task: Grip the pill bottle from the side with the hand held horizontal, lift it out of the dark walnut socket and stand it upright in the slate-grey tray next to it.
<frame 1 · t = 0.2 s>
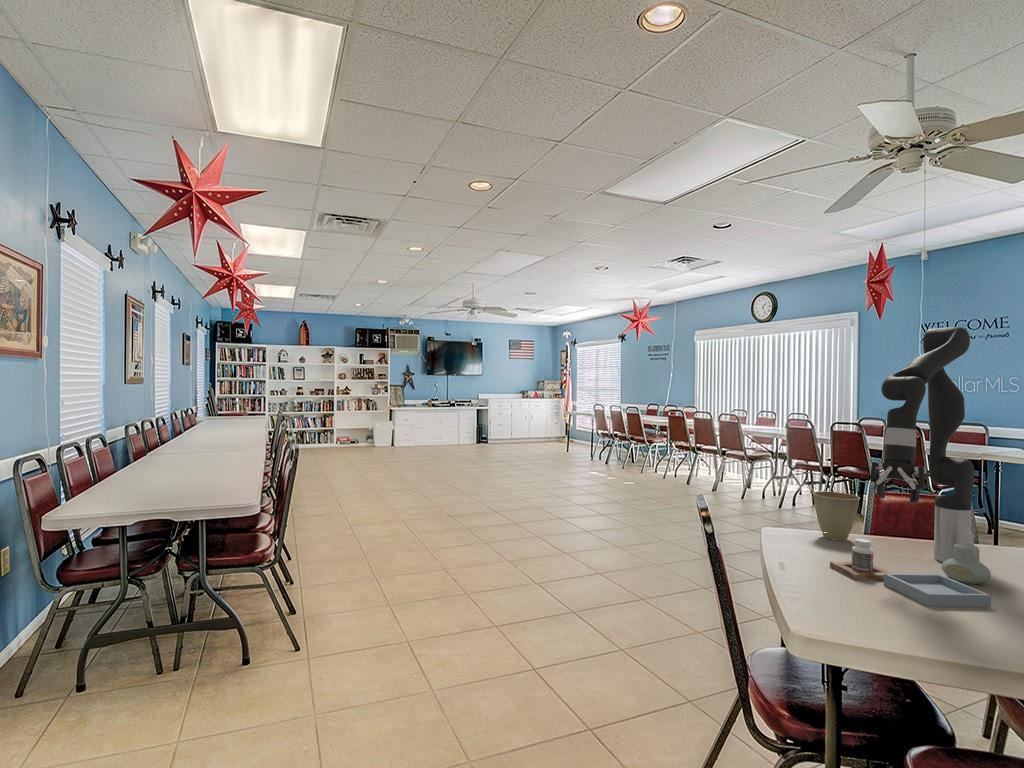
hand: (896, 500, 160), 22 cm above the table, tool pointing down, fingers open, 8 cm apart
air freshener: (965, 581, 159), on the table
walnut socket: (862, 573, 164), on the table
slate tray: (934, 595, 147), on the table
pill bottle: (862, 574, 164), resting in walnut socket
plant pot: (835, 539, 204), on the table
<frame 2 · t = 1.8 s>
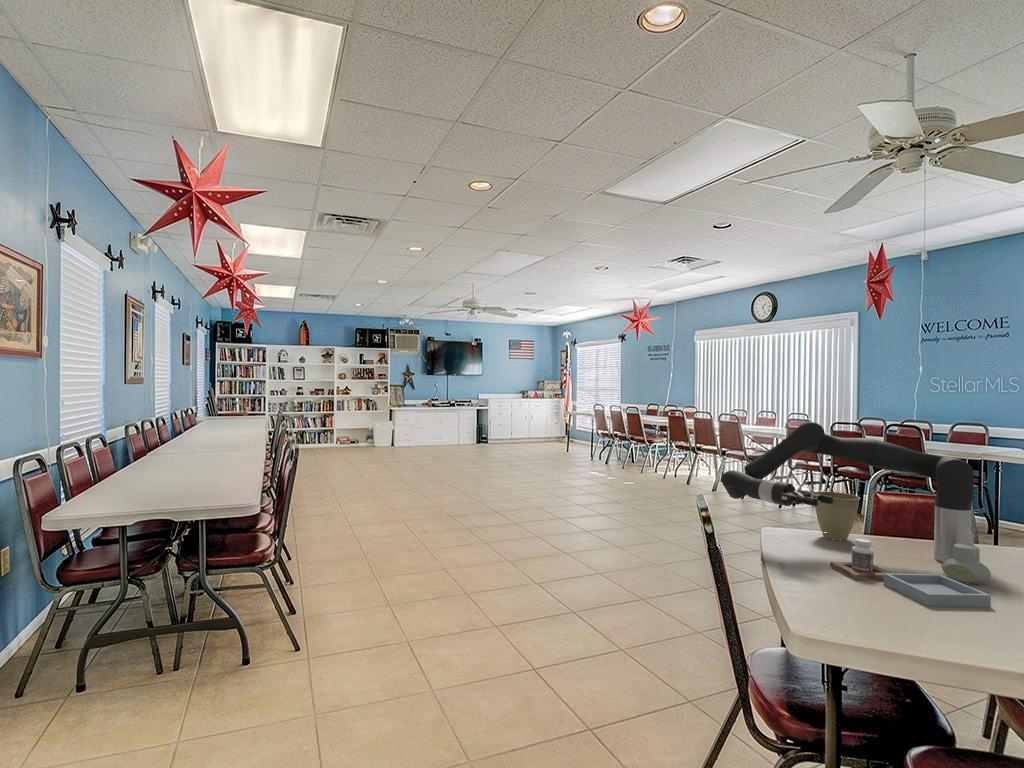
hand: (825, 501, 173), 19 cm above the table, tool horizontal, fingers open, 8 cm apart
nothing on the table moved.
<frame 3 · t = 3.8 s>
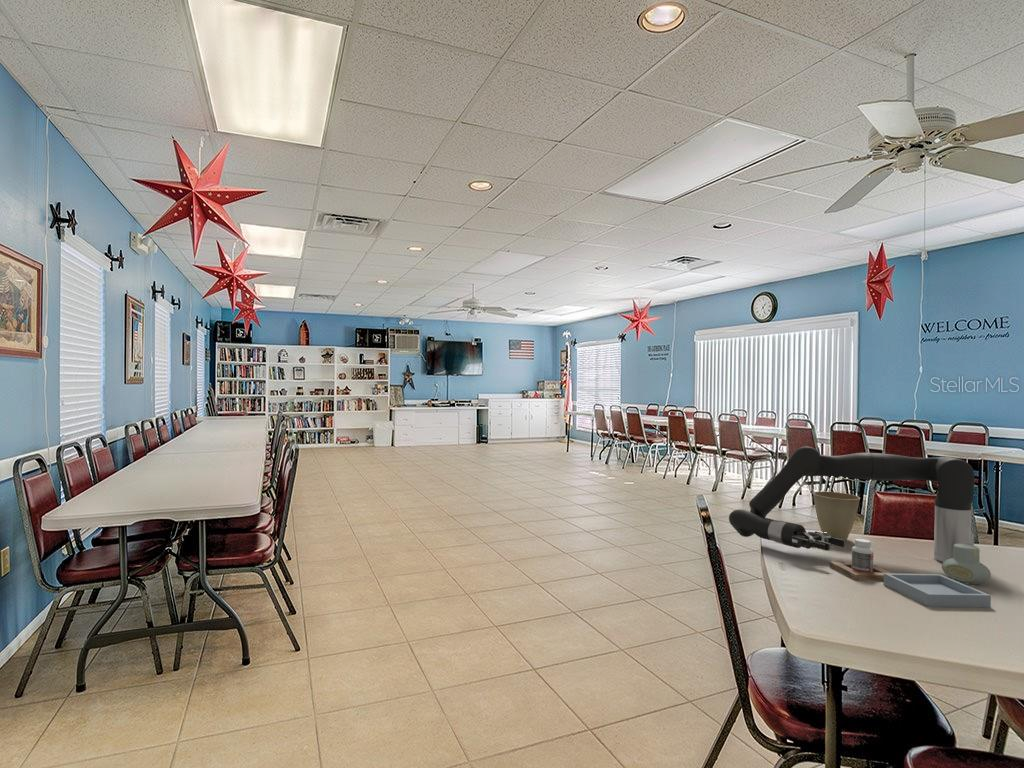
hand: (836, 545, 170), 6 cm above the table, tool horizontal, fingers open, 8 cm apart
nothing on the table moved.
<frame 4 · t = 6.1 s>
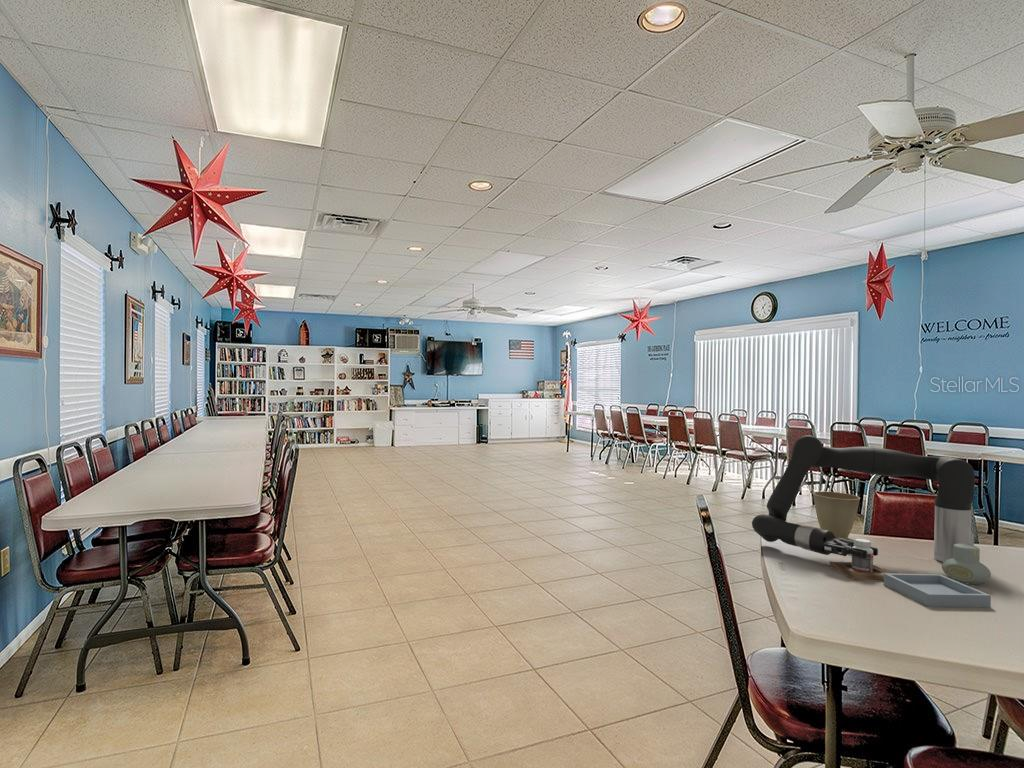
hand: (871, 553, 161), 7 cm above the table, tool horizontal, fingers closed on pill bottle, 5 cm apart
pill bottle: (862, 574, 164), resting in walnut socket, touching gripper
everything else where it was.
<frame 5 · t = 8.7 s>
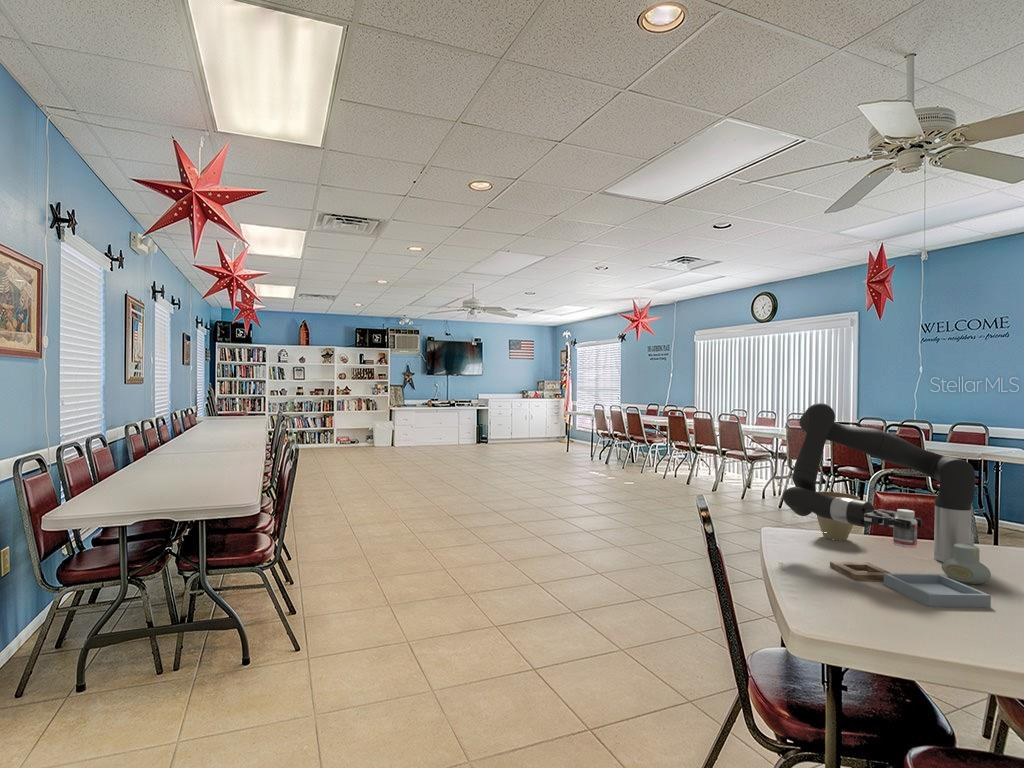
hand: (916, 524, 151), 18 cm above the table, tool horizontal, fingers closed on pill bottle, 5 cm apart
pill bottle: (904, 546, 153), point 11 cm above the table, touching gripper
everything else where it was.
when the fingers open (9 cm above the table, at t = 11.4 s): pill bottle drops 1 cm, resting on slate tray.
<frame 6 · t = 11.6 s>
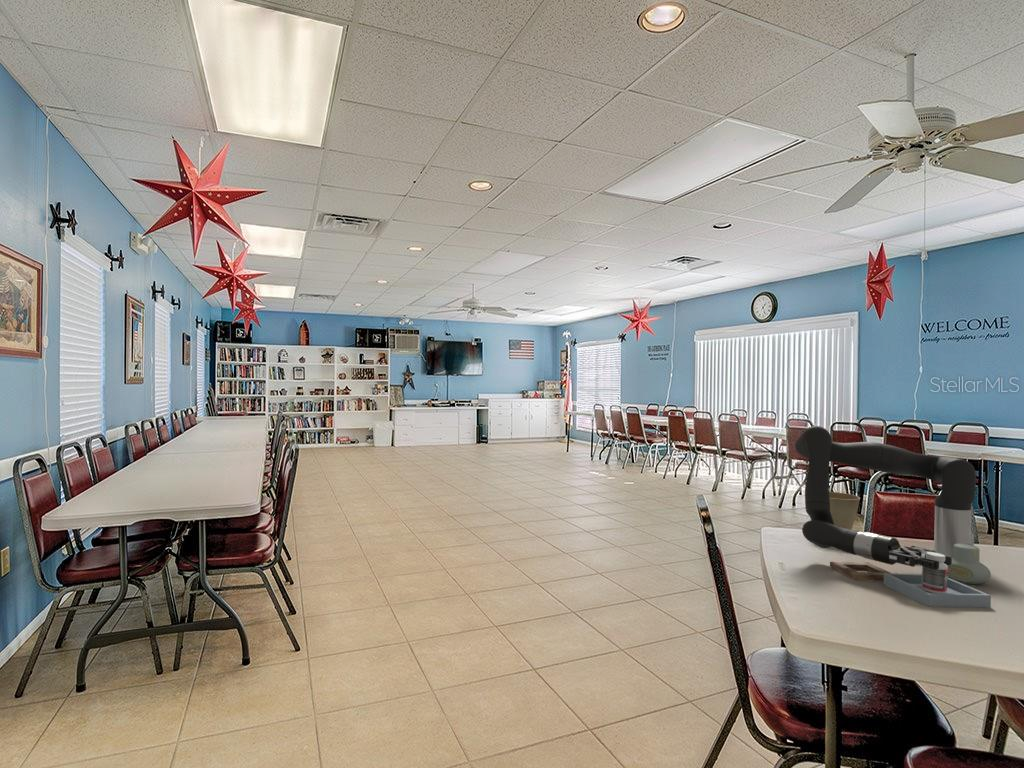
hand: (944, 563, 145), 9 cm above the table, tool horizontal, fingers open, 7 cm apart
pill bottle: (933, 591, 147), point 1 cm above the table, touching slate tray
everything else where it was.
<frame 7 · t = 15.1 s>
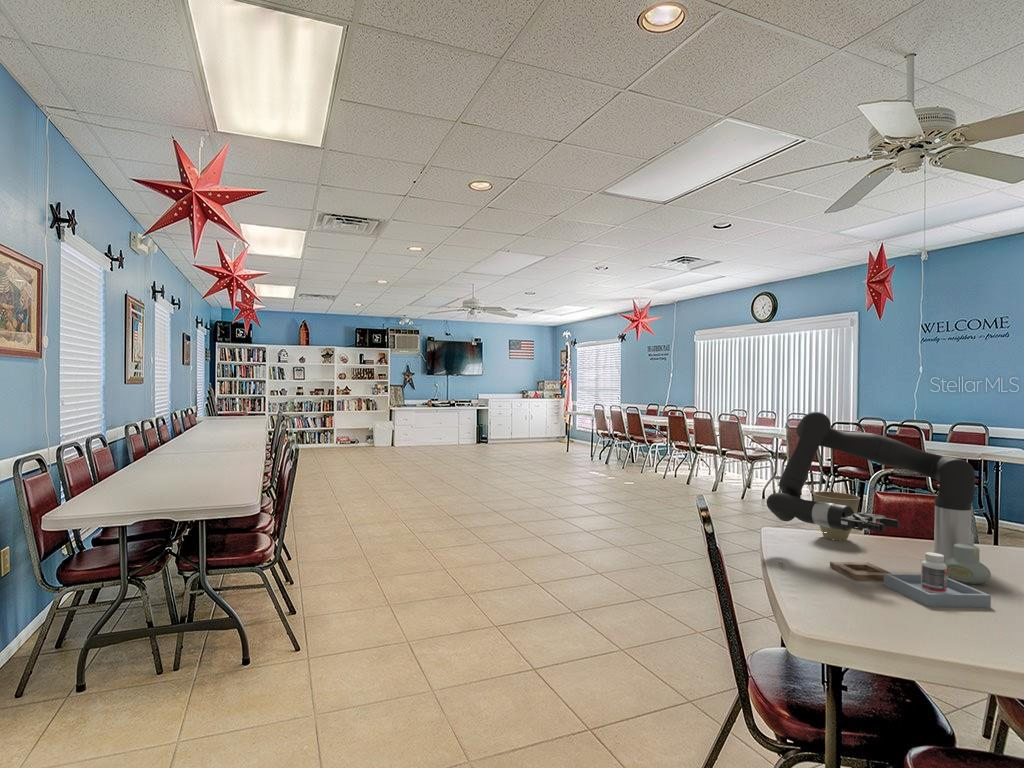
hand: (891, 526, 156), 16 cm above the table, tool horizontal, fingers open, 8 cm apart
nothing on the table moved.
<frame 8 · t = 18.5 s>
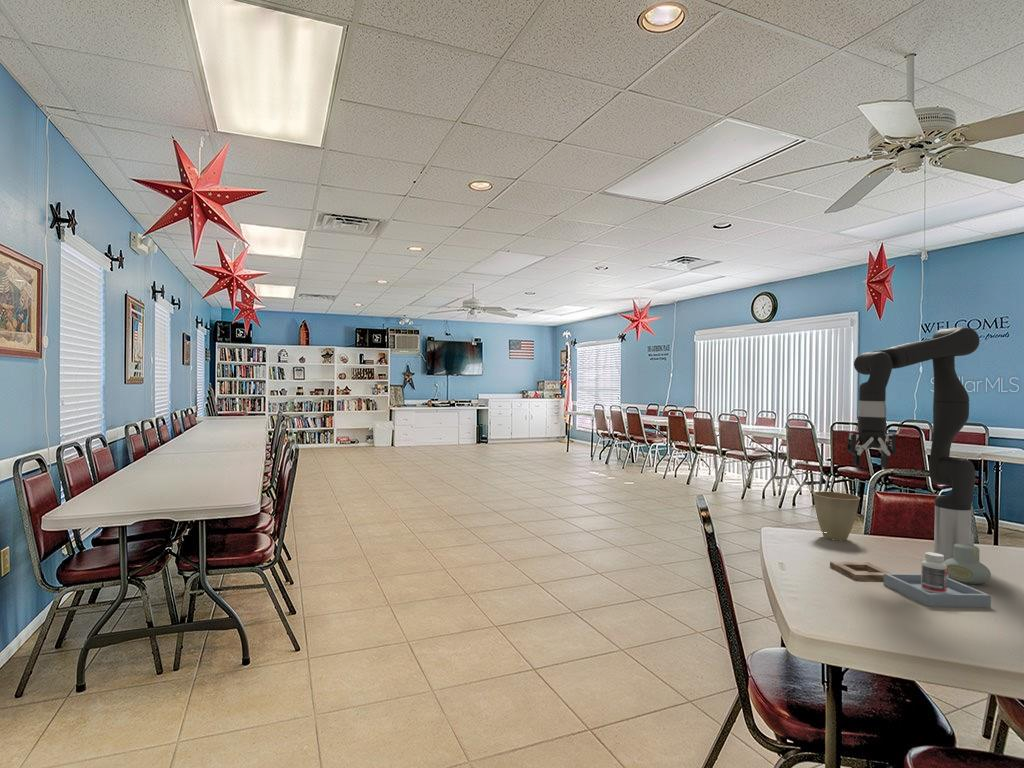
hand: (870, 467, 174), 30 cm above the table, tool pointing down, fingers open, 8 cm apart
nothing on the table moved.
at the end: pill bottle inside the target area on the slate tray (0.1 cm from its centre), point 0.8 cm above the slate tray's base; pill bottle tilted 0°; the gripper is holding nothing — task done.
